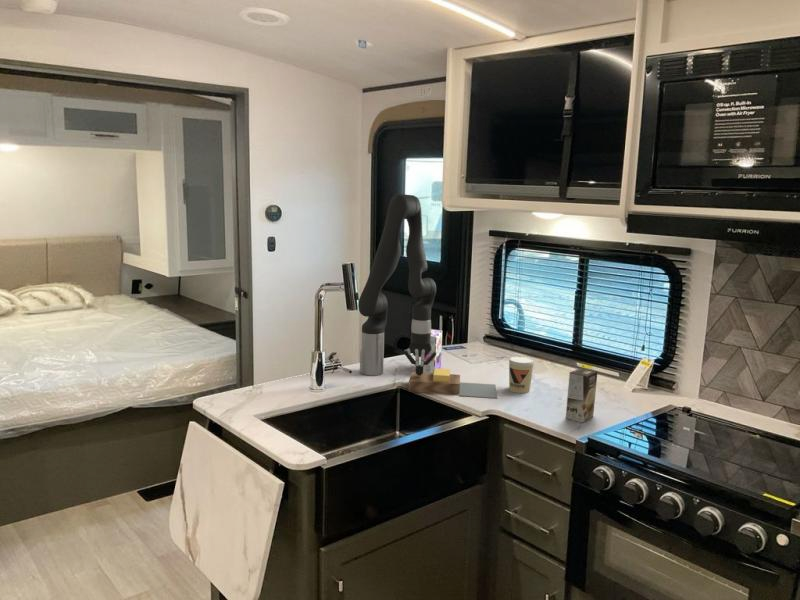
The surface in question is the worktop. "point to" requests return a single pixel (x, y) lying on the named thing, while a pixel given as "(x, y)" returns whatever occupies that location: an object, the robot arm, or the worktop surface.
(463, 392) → the mat
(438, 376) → the yellow rectangular block
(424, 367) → the candy box
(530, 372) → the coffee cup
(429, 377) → the brown flat block
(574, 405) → the coffee box
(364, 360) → the robot arm
